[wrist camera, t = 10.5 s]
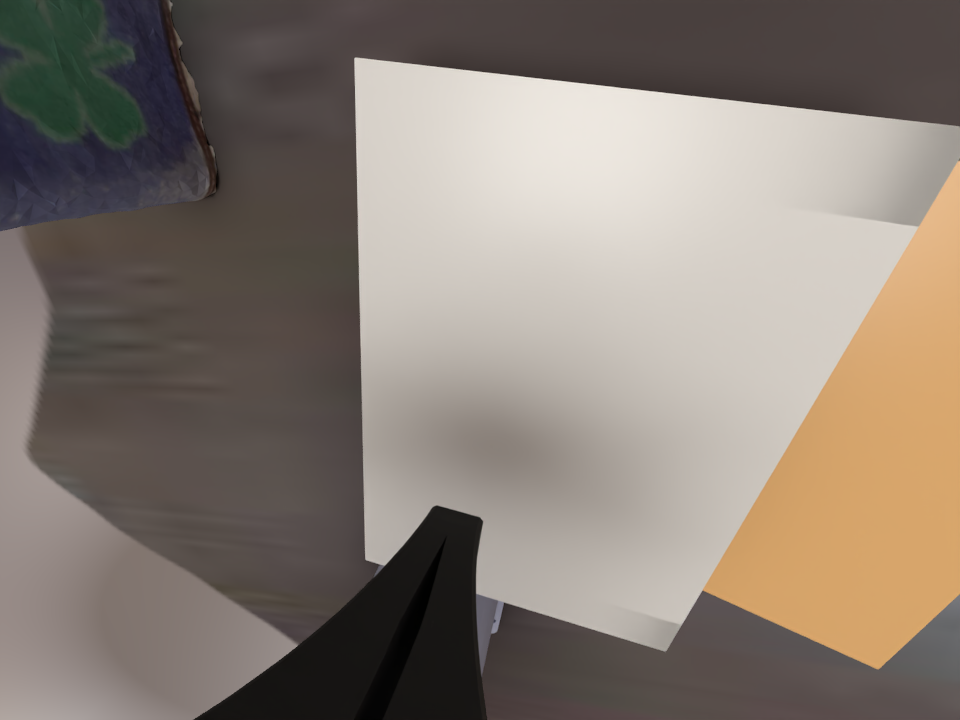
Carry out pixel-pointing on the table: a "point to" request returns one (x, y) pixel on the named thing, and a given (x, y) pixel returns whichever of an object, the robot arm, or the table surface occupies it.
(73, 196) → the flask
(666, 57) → the table surface
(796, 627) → the door
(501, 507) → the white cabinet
